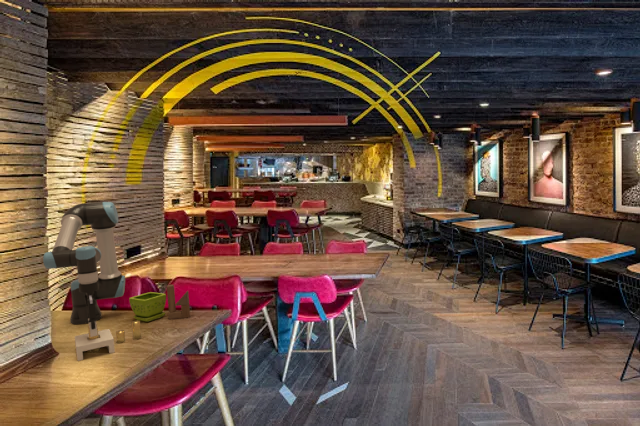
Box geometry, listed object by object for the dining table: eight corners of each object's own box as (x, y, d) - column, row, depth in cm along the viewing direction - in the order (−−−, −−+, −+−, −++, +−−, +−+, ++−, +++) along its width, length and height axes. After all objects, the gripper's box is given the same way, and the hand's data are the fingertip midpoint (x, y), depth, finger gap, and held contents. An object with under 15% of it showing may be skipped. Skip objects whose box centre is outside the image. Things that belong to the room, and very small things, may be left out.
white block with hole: (75, 349, 188) (74, 336, 188) (110, 341, 196) (109, 328, 195) (77, 361, 175) (76, 347, 174) (114, 352, 182) (113, 338, 182)
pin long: (90, 351, 186) (87, 324, 185) (99, 349, 188) (96, 322, 187) (90, 353, 183) (88, 326, 182) (100, 351, 185) (97, 325, 184)
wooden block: (188, 318, 225) (186, 285, 224) (168, 319, 224) (165, 286, 223) (190, 315, 229) (187, 283, 227) (170, 317, 228) (167, 284, 226)
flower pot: (168, 316, 230) (166, 293, 229) (146, 324, 218) (144, 300, 217) (152, 313, 237) (150, 291, 236) (129, 320, 225) (127, 297, 224)
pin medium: (132, 338, 199) (131, 321, 198) (140, 336, 201) (139, 319, 200) (133, 340, 196) (132, 323, 195) (142, 338, 198) (140, 321, 197)
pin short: (116, 341, 195) (115, 331, 195) (124, 339, 197) (123, 329, 197) (117, 344, 192) (116, 333, 192) (125, 342, 194) (124, 331, 194)
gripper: (77, 279, 189) (82, 330, 190) (79, 287, 173) (85, 342, 175) (96, 277, 193) (100, 326, 194) (100, 284, 177) (105, 337, 179)
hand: (93, 334), depth 185 cm, fingers open, 5 cm apart
